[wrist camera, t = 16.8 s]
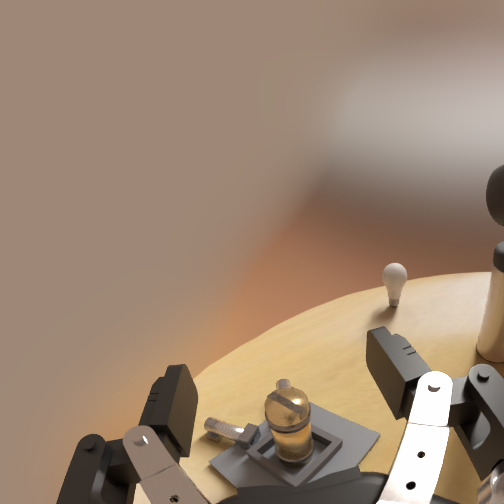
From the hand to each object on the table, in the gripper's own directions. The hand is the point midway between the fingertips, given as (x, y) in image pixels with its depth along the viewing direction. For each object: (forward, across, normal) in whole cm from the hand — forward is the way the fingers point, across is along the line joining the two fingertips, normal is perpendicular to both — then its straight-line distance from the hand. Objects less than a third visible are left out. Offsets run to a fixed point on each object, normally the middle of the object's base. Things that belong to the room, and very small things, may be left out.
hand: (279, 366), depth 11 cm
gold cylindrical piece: (+11, 0, +27) cm, 29 cm away
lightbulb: (+44, -30, +28) cm, 60 cm away
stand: (+11, 0, +28) cm, 30 cm away
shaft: (+16, +9, +28) cm, 33 cm away
